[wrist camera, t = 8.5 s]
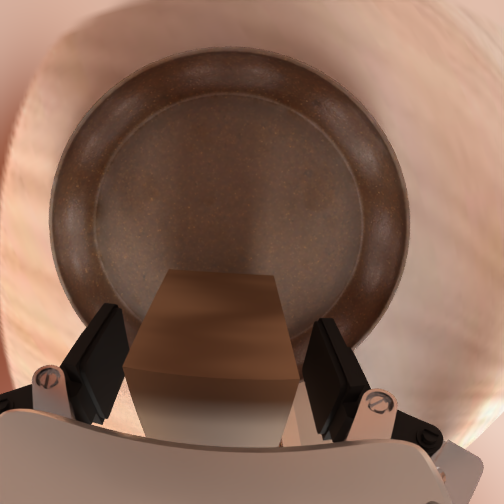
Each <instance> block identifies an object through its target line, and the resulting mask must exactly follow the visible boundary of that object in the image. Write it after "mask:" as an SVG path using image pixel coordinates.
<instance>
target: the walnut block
mask: <svg viewBox="0 0 504 504" xmlns="http://www.w3.org/2000/svg"><path fill="white" fill-rule="evenodd" d="M122 367H123V371H124V374H125V378H126V381H127V384H128V387H129V391H130V394H131V397H132V400H133V403H134V406H135V409H136V412H137V414H138V417H139V420H140V423H141V425H142V428H143V431H144V433H145V436H146V438H152V439H158V440H164V441H171V442H178V443H186V444H196V445H207V446H222V447H279V444H280V441H281V438H282V435H283V432H284V429H285V426H286V423H287V420H288V417H289V414H290V411H291V408H292V404H293V401H294V398H295V395H296V391H297V388H298V385H299V381H300V377H299V373H298V369H297V365H296V361H295V357H294V353H293V349H292V345H291V341H290V337H289V333H288V329H287V325H286V321H285V317H284V313H283V309H282V305H281V302H280V298H279V294H278V290H277V286H276V282H275V279H274V275H255V274H237V273H221V272H205V271H190V270H176V269H169V270H168V272H167V274H166V276H165V277H164V279H163V281H162V283H161V285H160V287H159V289H158V291H157V293H156V295H155V297H154V299H153V301H152V303H151V305H150V308H149V310H148V312H147V314H146V316H145V318H144V320H143V322H142V324H141V326H140V328H139V331H138V333H137V335H136V337H135V339H134V341H133V344H132V346H131V348H130V350H129V353H128V355H127V357H126V359H125V362H124V364H123V366H122Z"/></svg>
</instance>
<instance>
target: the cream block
mask: <svg viewBox="0 0 504 504" xmlns="http://www.w3.org/2000/svg"><path fill="white" fill-rule="evenodd" d="M282 443H283V447H290V446H305V445H317V444H327V443H333V442H332V440H325V441H323V439H322V435H321V434H318V433H317V430H316V426H315V422H314V418H313V414H312V410H311V406H310V402H309V398H308V394H307V390H306V386H305V382H302V383H299V385H298V388H297V391H296V395H295V398H294V401H293V404H292V408H291V411H290V414H289V417H288V420H287V423H286V426H285V429H284V432H283V435H282Z"/></svg>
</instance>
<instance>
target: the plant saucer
mask: <svg viewBox="0 0 504 504" xmlns="http://www.w3.org/2000/svg"><path fill="white" fill-rule="evenodd" d="M49 230H50V243H51V250H52V255H53V260H54V264H55V268H56V271H57V274H58V277H59V280H60V283H61V285H62V287H63V289H64V292H65V294H66V296H67V298H68V300H69V301H70V303H71V305H72V307H73V309H74V310H75V312H76V314H77V315H78V317H79V318H80V319H81V321H82V322H83V323H84V325H85V326H86V327H87V326H88V325H89V323H90V322H91V320H92V319H93V318H94V316H95V315H96V313H97V312H98V311H99V309H100V308H101V307H102V305H103V304H104V303H111V304H117V305H118V307H119V308H121V309H122V313H123V318H124V324H125V329H126V334H127V339H128V344H129V349H130V348H131V346H132V344H133V341H134V339H135V337H136V335H137V333H138V331H139V328H140V326H141V324H142V322H143V320H144V318H145V316H146V314H147V312H148V310H149V308H150V305H151V303H152V301H153V299H154V297H155V295H156V293H157V291H158V289H159V287H160V285H161V283H162V281H163V279H164V277H165V276H166V274H167V272H168V270H169V269H176V270H190V271H205V272H221V273H237V274H255V275H274V279H275V282H276V286H277V290H278V294H279V298H280V302H281V305H282V309H283V313H284V317H285V321H286V325H287V329H288V333H289V337H290V341H291V345H292V349H293V353H294V357H295V361H296V365H297V369H298V373H299V377H300V381H299V383H302V382H304V378H303V374H302V367H303V363H304V360H305V356H306V352H307V348H308V344H309V340H310V336H311V332H312V328H313V324H314V322H315V321H318V320H319V318H333V319H334V321H335V323H336V325H337V327H338V329H339V331H340V333H341V335H342V337H343V339H344V341H345V343H346V345H347V347H350V348H351V349H352V351H353V350H354V349H355V348H357V347H358V346H359V345H360V344H361V343H362V342H363V341H364V340H365V339H366V338H367V336H368V335H369V334H370V333H371V332H372V330H373V329H374V327H375V326H376V325H377V324H378V322H379V321H380V319H381V318H382V316H383V315H384V313H385V312H386V310H387V309H388V306H389V304H390V302H391V301H392V299H393V297H394V295H395V293H396V291H397V289H398V286H399V283H400V280H401V277H402V274H403V271H404V267H405V263H406V258H407V254H408V247H409V236H410V209H409V201H408V195H407V189H406V185H405V181H404V177H403V174H402V171H401V168H400V165H399V162H398V159H397V157H396V154H395V152H394V150H393V148H392V146H391V144H390V143H389V141H388V139H387V137H386V135H385V134H384V132H383V131H382V129H381V128H380V126H379V125H378V123H377V122H376V120H375V119H374V118H373V116H372V115H371V114H370V113H369V112H368V110H367V109H366V108H365V107H364V106H363V105H362V103H361V102H360V101H359V100H358V99H357V98H355V97H354V96H353V95H352V94H351V93H350V92H349V91H348V90H346V89H345V88H344V87H343V86H342V85H340V84H339V83H338V82H336V81H335V80H333V79H332V78H330V77H329V76H327V75H326V74H324V73H323V72H322V71H320V70H318V69H316V68H314V67H312V66H310V65H308V64H306V63H303V62H300V61H298V60H296V59H293V58H291V57H288V56H285V55H281V54H278V53H274V52H270V51H265V50H260V49H254V48H246V47H213V48H203V49H196V50H191V51H186V52H182V53H179V54H175V55H172V56H169V57H166V58H163V59H161V60H159V61H156V62H153V63H150V64H148V65H146V66H144V67H143V68H141V69H139V70H137V71H136V72H134V73H133V74H131V75H130V76H128V77H126V78H125V79H123V80H122V81H120V82H119V83H118V84H116V85H115V86H114V87H113V88H111V89H110V90H109V91H108V92H107V93H106V94H104V95H103V96H102V97H101V98H100V99H99V100H98V101H97V102H96V103H95V104H94V106H93V107H92V108H91V109H90V110H89V111H88V112H87V114H86V115H85V116H84V117H83V119H82V120H81V122H80V123H79V124H78V126H77V128H76V129H75V131H74V132H73V134H72V136H71V137H70V139H69V141H68V143H67V145H66V147H65V149H64V151H63V154H62V156H61V159H60V162H59V165H58V168H57V171H56V174H55V177H54V182H53V186H52V190H51V198H50V207H49Z"/></svg>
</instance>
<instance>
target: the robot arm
mask: <svg viewBox="0 0 504 504" xmlns="http://www.w3.org/2000/svg"><path fill="white" fill-rule="evenodd" d="M129 350H130V349H129V344H128V339H127V334H126V329H125V324H124V318H123V313H122V309H121V308H119V307H118V305H117V304H111V303H104V304H103V305H102V307H101V308H100V309H99V311H98V312H97V313H96V315H95V316H94V318H93V319H92V320H91V322H90V323H89V325H88V326H87V327H86V329H85V330H84V331H83V333H82V334H81V335H80V337H79V338H78V340H77V341H76V343H75V344H74V346H73V347H72V349H71V350H70V352H69V353H68V355H67V356H66V358H65V359H64V361H63V362H62V364H61V365H60V367H57V366H54V365H46V366H43V367H41V368H39V369H38V370H37V371H36V372H35V373H34V375H33V378H32V384H30V385H27V386H24V387H21V388H18V389H15V390H12V391H10V392H6V393H3V394H0V504H468V503H469V501H470V499H471V497H472V495H473V493H474V491H475V489H476V486H477V484H478V482H479V480H480V477H481V475H482V473H483V468H484V467H483V462H482V461H481V459H480V458H479V457H478V456H476V455H474V454H472V453H470V452H469V451H467V450H465V449H463V448H462V447H460V446H458V445H456V444H455V443H453V442H451V441H449V440H447V441H446V442H445V441H443V435H442V433H441V431H440V430H439V429H438V428H437V427H435V426H433V425H431V424H429V423H426V422H424V421H422V420H419V419H417V418H415V417H412V416H410V415H408V414H406V413H403V412H401V411H399V410H397V401H396V398H395V397H394V396H393V395H392V394H391V393H390V392H388V391H386V390H383V389H371V388H370V386H369V384H368V381H367V379H366V377H365V375H364V373H363V371H362V369H361V367H360V365H359V363H358V361H357V359H356V357H355V355H354V353H353V351H352V349H351V348H350V347H347V345H346V343H345V341H344V339H343V337H342V335H341V333H340V331H339V329H338V327H337V325H336V323H335V321H334V319H333V318H319V320H318V321H315V322H314V324H313V328H312V332H311V336H310V340H309V344H308V348H307V352H306V356H305V360H304V363H303V367H302V374H303V378H304V382H305V386H306V390H307V394H308V398H309V402H310V406H311V410H312V414H313V418H314V422H315V426H316V430H317V433H318V434H321V435H322V439H323V441H325V440H332V442H333V443H327V444H317V445H305V446H290V447H222V446H207V445H196V444H186V443H178V442H171V441H164V440H158V439H152V438H146V437H141V436H136V435H131V434H126V433H122V432H117V431H113V430H109V429H105V428H101V427H98V426H94V425H91V424H92V422H94V423H98V424H101V425H103V422H104V419H108V417H109V415H110V412H111V410H112V407H113V405H114V402H115V399H116V397H117V394H118V392H119V389H120V387H121V384H122V382H123V379H124V377H125V374H124V371H123V367H122V366H123V364H124V362H125V359H126V357H127V355H128V353H129Z"/></svg>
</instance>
